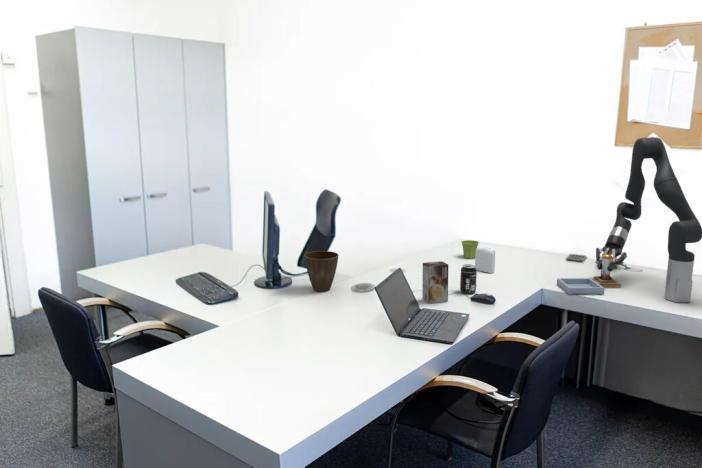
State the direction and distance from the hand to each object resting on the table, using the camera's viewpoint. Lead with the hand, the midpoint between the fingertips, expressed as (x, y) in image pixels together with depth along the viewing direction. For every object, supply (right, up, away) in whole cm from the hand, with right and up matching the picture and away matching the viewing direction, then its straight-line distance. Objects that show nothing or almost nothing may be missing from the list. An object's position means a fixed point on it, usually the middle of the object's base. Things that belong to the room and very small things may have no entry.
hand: (604, 269), depth 257 cm
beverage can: (-63, -10, -7) cm, 64 cm away
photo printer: (-48, -3, +27) cm, 55 cm away
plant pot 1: (-127, -9, -2) cm, 127 cm away
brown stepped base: (+1, -7, +3) cm, 8 cm away
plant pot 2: (-50, +3, +53) cm, 73 cm away
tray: (-13, -9, -4) cm, 16 cm away
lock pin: (+1, -5, +3) cm, 6 cm away
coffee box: (-79, -12, -17) cm, 81 cm away
